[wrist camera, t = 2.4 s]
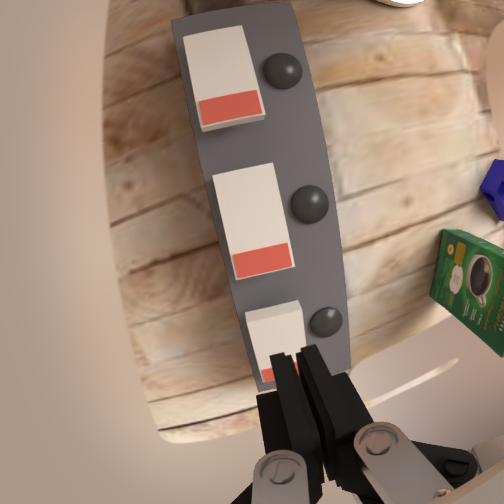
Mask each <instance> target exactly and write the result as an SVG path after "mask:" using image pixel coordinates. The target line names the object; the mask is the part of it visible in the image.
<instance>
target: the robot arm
mask: <svg viewBox="0 0 504 504" xmlns="http://www.w3.org/2000/svg"><path fill="white" fill-rule="evenodd" d="M376 1H379V2H382V3H384V4H387V5H392V6H397V7H411V6H415V5H417V4H420V3H421V2H423V1H424V0H376ZM300 351H301V352H298V353H296V360H297V366H298V372H299V375H298V372H297V369H296V367H295V364H294V361H293V358H292V356H291V354H290V355H286V356H285V353H284V352H282V353H278V354H273V355H269V357H270V362H271V366H272V370H273V375H274V379H275V383H276V388H277V391H273V392H269V393H264V394H260V395H256V399H257V405H258V411H259V417H260V423H261V429H262V435H263V441H264V446H265V453H266V455H265V456H263V457H262V458H261V459H259V461H258V462H257V464H256V465H255V468H254V473H253V482H252V483H251V484H250V485H249V486H248V487H247V488H246V489H245V490H244V491H243V492H242V493H241V494H240V495H239V496H238V497H237V498H236V499H235V500H234V501H233V502H232V503H231V504H316V503H317V502H318V501H319V499H320V498H321V497H322V495H323V494H322V486H321V484H322V483H325V482H324V471H323V465H324V467H325V471H326V474H327V477H328V479H329V481H332V480H335V481H336V484H337V487H339V486H341V488H342V490H345V491H348V492H351V493H352V494H353V497H354V499H355V500H356V502H357V503H358V504H504V434H503V435H501V436H498V437H496V438H494V439H492V440H489V441H486V442H483V443H481V444H478V445H476V446H474V447H473V448H472V449H471V450H468V451H465V450H462V449H456V448H449V447H442V446H437V445H431V444H426V443H421V442H416V441H411V440H409V439H408V437H407V436H406V435H405V434H404V433H403V432H402V431H401V430H400V429H399V428H398V427H397V426H396V425H394V424H391V423H388V422H374V421H373V419H372V418H371V416H370V414H369V412H368V410H367V408H366V407H365V405H364V403H363V401H362V400H361V398H360V396H359V394H358V392H357V391H356V389H355V387H354V385H353V384H352V382H351V380H350V378H349V376H348V375H347V373H345V372H344V373H340V374H337V375H334V376H332V375H331V373H330V371H329V369H328V367H327V365H326V363H325V361H324V359H323V357H322V355H321V353H320V351H319V349H318V347H317V346H316V344H313V345H309V346H305V347H302V348H300Z"/></svg>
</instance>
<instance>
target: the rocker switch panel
mask: <svg viewBox="0 0 504 504" xmlns="http://www.w3.org/2000/svg"><path fill="white" fill-rule="evenodd" d="M171 24H172V29H173V35H174V40H175V45H176V50H177V55H178V60H179V65H180V70H181V75H182V80H183V85H184V90H185V95H186V100H187V105H188V109H189V114H190V119H191V123H192V128H193V133H194V137H195V142H196V146H197V151H198V155H199V160H200V164H201V168H202V173H203V177H204V182H205V186H206V190H207V194H208V199H209V203H210V207H211V211H212V216H213V220H214V224H215V228H216V232H217V236H218V240H219V245H220V249H221V253H222V257H223V261H224V265H225V269H226V273H227V277H228V281H229V285H230V288H231V292H232V296H233V300H234V304H235V308H236V312H237V315H238V319H239V323H240V327H241V331H242V334H243V338H244V342H245V345H246V349H247V353H248V356H249V360H250V364H251V367H252V371H253V375H254V378H255V382H256V385H257V389H258V392H261V391H266V390H270V389H275V388H276V383H275V381H271V382H267V383H265V382H264V383H263V381H262V378H261V374H260V370H259V367H258V363H257V359H256V356H255V352H254V348H253V345H252V341H251V337H250V333H249V330H248V326H247V322H246V316H245V312H249V311H253V310H258V309H262V308H266V307H271V306H275V305H279V304H284V303H288V302H292V301H296V300H298V301H299V303H300V306H301V308H302V313H303V321H304V330H305V339H306V346H309V345H313V344H316V346H317V347H318V349H319V351H320V353H321V355H322V357H323V359H324V361H325V363H326V365H327V367H328V369H329V371H330V373H331V374H333V373H336V372H340V371H343V370H346V369H350V368H351V357H350V338H349V322H348V308H347V296H346V285H345V275H344V265H343V256H342V247H341V239H340V231H339V224H338V216H337V209H336V202H335V196H334V189H333V183H332V177H331V171H330V165H329V160H328V154H327V149H326V143H325V138H324V133H323V128H322V123H321V118H320V113H319V109H318V104H317V100H316V95H315V91H314V86H313V82H312V78H311V74H310V70H309V66H308V62H307V58H306V54H305V50H304V46H303V43H302V39H301V35H300V32H299V28H298V25H297V21H296V18H295V15H294V11H293V8H292V5H291V1H289V2H275V3H264V4H255V5H247V6H239V7H232V8H226V9H220V10H215V11H209V12H204V13H199V14H195V15H190V16H186V17H181V18H177V19H173V20H171ZM240 25H242V27H243V31H244V34H245V38H246V41H247V45H248V49H249V52H250V56H251V60H252V63H253V67H254V71H255V75H256V78H257V82H258V86H259V90H260V94H261V98H262V102H263V106H264V109H265V113H266V115H265V118H264V120H260V121H254V122H249V123H244V124H239V125H234V126H229V127H224V128H220V129H215V130H211V131H207V132H202V129H201V126H200V121H199V117H198V112H197V107H196V102H195V97H194V92H193V87H192V82H191V77H190V72H189V67H188V61H187V56H186V51H185V46H184V40H183V37H184V36H188V35H193V34H197V33H202V32H206V31H211V30H217V29H222V28H228V27H234V26H240ZM268 163H273V165H274V170H275V174H276V178H277V183H278V187H279V192H280V196H281V201H282V206H283V210H284V215H285V220H286V224H287V229H288V234H289V239H290V244H291V249H292V254H293V258H294V264H295V267H292V268H287V269H283V270H279V271H275V272H270V273H266V274H261V275H257V276H253V277H248V278H244V279H239V280H236V278H235V273H234V269H233V265H232V261H231V256H230V252H229V248H228V243H227V239H226V235H225V230H224V226H223V221H222V217H221V212H220V208H219V203H218V199H217V194H216V190H215V185H214V181H213V176H212V175H216V174H221V173H225V172H230V171H234V170H239V169H243V168H248V167H253V166H258V165H263V164H268Z"/></svg>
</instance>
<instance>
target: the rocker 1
mask: <svg viewBox="0 0 504 504" xmlns="http://www.w3.org/2000/svg"><path fill="white" fill-rule="evenodd" d="M183 40H184V46H185V51H186V56H187V61H188V67H189V72H190V77H191V82H192V87H193V92H194V97H195V102H196V107H197V112H198V117H199V121H200V126H201V129H202V132H207V131H211V130H215V129H220V128H224V127H229V126H234V125H239V124H244V123H249V122H254V121H260V120H264V118H265V115H266V113H265V109H264V106H263V102H262V98H261V94H260V90H259V86H258V82H257V78H256V75H255V71H254V67H253V63H252V60H251V56H250V52H249V49H248V45H247V41H246V38H245V34H244V31H243V27H242V25H240V26H234V27H228V28H222V29H217V30H211V31H206V32H202V33H197V34H193V35H188V36H184V37H183Z"/></svg>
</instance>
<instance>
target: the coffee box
mask: <svg viewBox="0 0 504 504" xmlns="http://www.w3.org/2000/svg"><path fill="white" fill-rule="evenodd" d="M439 248H440V251H439V256H438V261H437V266H436V271H435V276H434V279H433V283H432V289H431V293H430V297H432V298H433V299H434V300H435V301H436V302H438V303H439V304H440V305H441V306H443V307H444V308H445V309H447V310H448V311H449V312H450V313H451V314H452V315H454V316H455V317H456V318H457V319H458V320H460V321H461V322H462V323H463V324H464V325H465V326H466V327H467V328H469V329H470V330H471V331H472V332H473V333H474V334H476V335H477V336H478V337H479V338H480V339H481V340H482V341H483V342H485V343H486V344H487V345H488V346H489V347H490V348H491V349H492V350H493V351H494V352H496V353H497V354H498V355H499V356H500V357H501V358H503V357H504V249H502V248H500V247H498V246H496V245H494V244H492V243H489V242H487V241H485V240H483V239H481V238H479V237H476V236H474V235H472V234H470V233H468V232H465V231H462V230H459V229H450V228H445V229H443V232H442V238H441V242H440V247H439Z"/></svg>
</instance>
